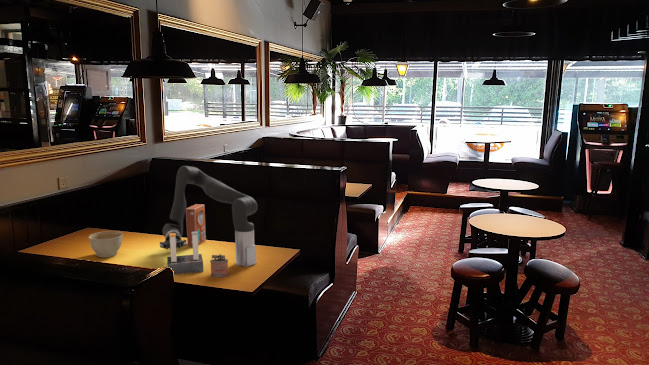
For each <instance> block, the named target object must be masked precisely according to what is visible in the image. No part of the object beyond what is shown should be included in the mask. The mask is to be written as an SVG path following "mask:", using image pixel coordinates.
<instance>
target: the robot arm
mask: <svg viewBox="0 0 649 365" xmlns="http://www.w3.org/2000/svg"><path fill="white" fill-rule="evenodd" d="M175 178H176V179H175V188H174V199H173V205H172V207H171V211H170V214H169V219H170V220H172V221H174V222H175V223H177V224H175V223H165V224H164V225H163V227H162V235H163V237H164V239H165V240H164V241H160V242H159V247H160V248H161V249H164V250H170V251H171V248H170V237H169V234H171V233H176V237H175V239H176V249H181V248H183V247H185V246H187V239H184V240H182V236H183V235H184V219H185V216H186V208H187V200H186V195H185V191H186V190H185V189H186V186H187V185H188V184H189V185H195V186H198V187H199V188H202V190H203V192H204V193H205V195H206V196H208V197H209V198H211V199H212V200H215V201H217V202H220V203H225V204H230V205H231V212H232V213H231V214H232V223H233V226H234V239H235V240H234V242H235V265H236V266H237V267H246V268H247V267H251V266H254V265H256V264H257V245H256V244H255V224H254V223H253V222H251V221H250V222H249V221H248V216H252V215H254V214H256V212H258V208H259V207H258V206H259V205H258V203H257V201H256V200H255V199H254V198H253V197H252V196H249V195H248V194H245V193H243V192H240V191H237V190H235V189H234V188H232V187H230V186H229V185H227V184H225V183H224V182H222V181H221V180H217V179H216V178H213V177H212V176H209V175H208V174H206V173H205V172H203V171H202V170H201V169H199V168H198V167H195V166H189V165H182V166H180V167H179V168H178V170H177V173H176V177H175Z"/></svg>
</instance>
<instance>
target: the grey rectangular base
mask: <svg viewBox="0 0 649 365" xmlns="http://www.w3.org/2000/svg"><path fill="white" fill-rule="evenodd" d="M198 254H199V259H198V260H193V254H186V255H176V258H177V262H171V256H168V257H167V258H166V259H167V261H166V262H167V263H166V266H167V267H170V268H172V270H173V271H174V274H175V275H182V274H181V273H184V274H191V273H201V272H204V258H203V255H202V253H198Z"/></svg>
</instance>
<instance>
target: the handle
mask: <svg viewBox="0 0 649 365" xmlns="http://www.w3.org/2000/svg"><path fill="white" fill-rule="evenodd" d="M192 242H193V246H192V255H193V260H198V259H199V254H200V253H199V245H198V231H196V232H192Z"/></svg>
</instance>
